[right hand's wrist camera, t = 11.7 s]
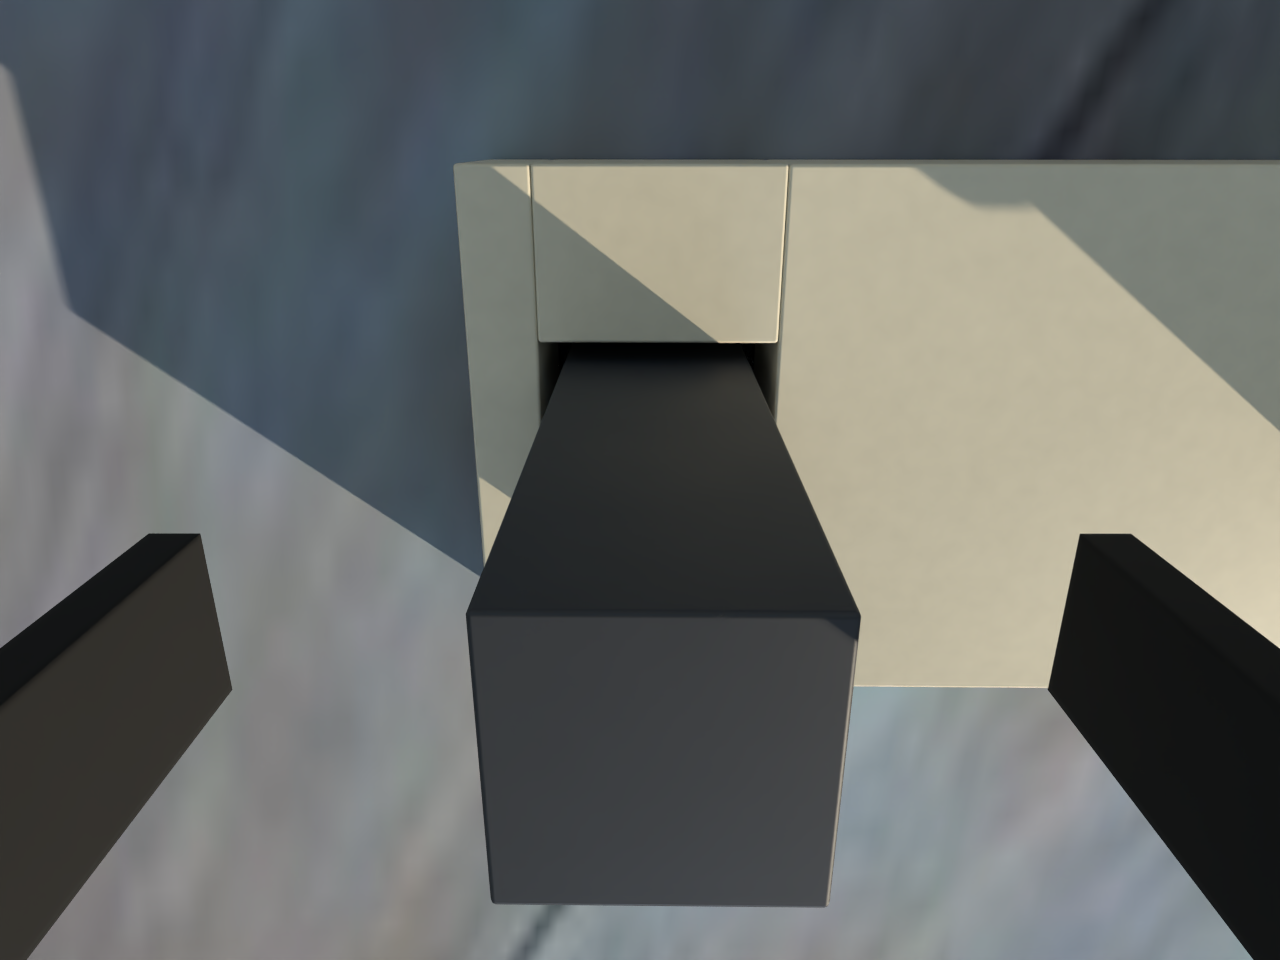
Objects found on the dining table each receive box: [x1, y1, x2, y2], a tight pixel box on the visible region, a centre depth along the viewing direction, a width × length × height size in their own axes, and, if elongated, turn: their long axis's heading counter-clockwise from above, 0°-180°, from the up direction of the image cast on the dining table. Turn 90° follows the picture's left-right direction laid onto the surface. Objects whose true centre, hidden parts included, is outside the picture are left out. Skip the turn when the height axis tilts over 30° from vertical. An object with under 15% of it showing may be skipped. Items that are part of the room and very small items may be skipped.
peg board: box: [453, 159, 1280, 688], centre depth 17 cm, size 26×12×12 cm, turn 90°
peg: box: [466, 342, 861, 907], centre depth 16 cm, size 4×4×14 cm
